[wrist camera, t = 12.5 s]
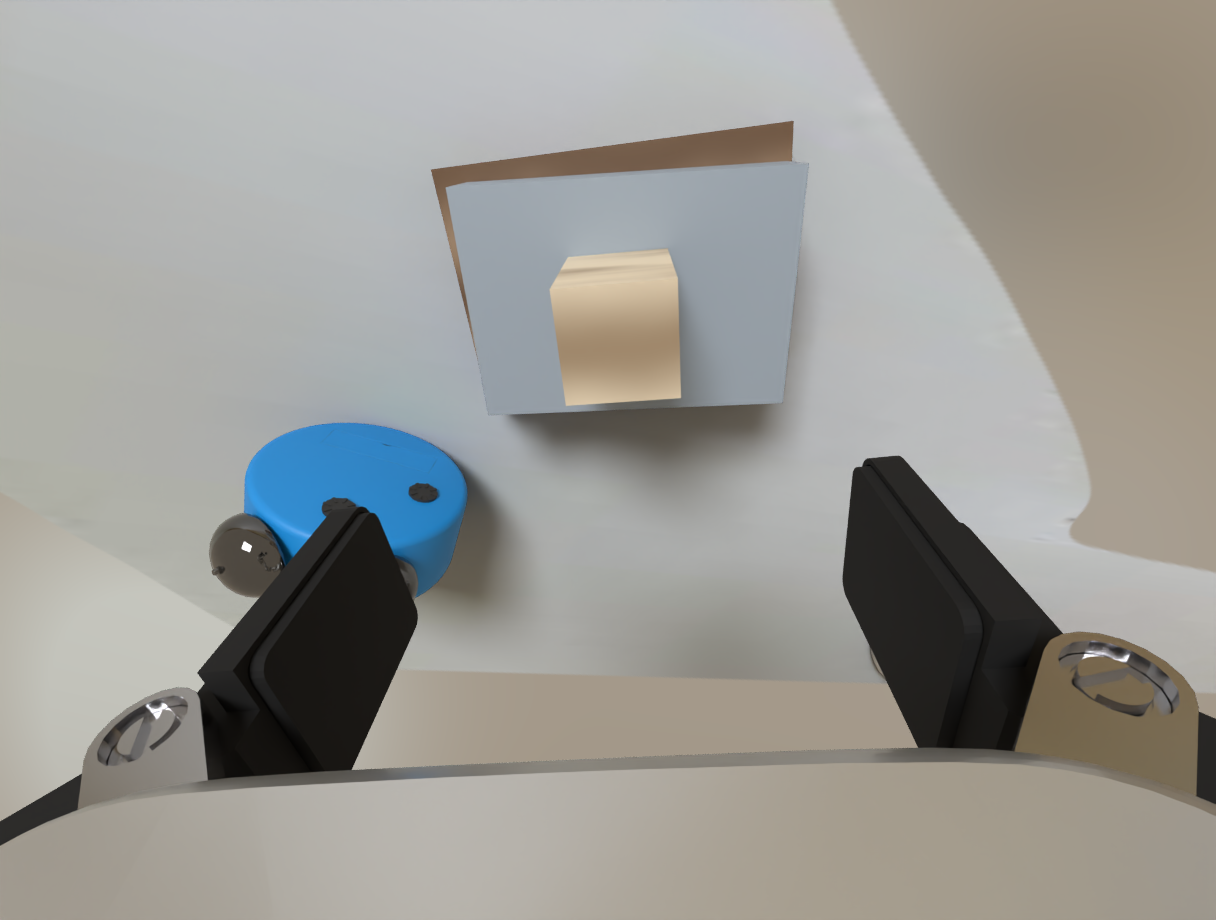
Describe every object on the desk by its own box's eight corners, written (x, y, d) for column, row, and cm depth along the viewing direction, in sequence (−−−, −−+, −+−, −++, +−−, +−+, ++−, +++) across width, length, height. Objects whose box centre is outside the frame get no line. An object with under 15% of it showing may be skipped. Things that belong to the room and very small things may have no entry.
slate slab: (767, 377, 34) (782, 403, 31) (501, 388, 35) (488, 415, 32) (786, 160, 28) (808, 163, 25) (466, 182, 29) (445, 187, 26)
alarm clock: (309, 465, 43) (171, 604, 30) (315, 397, 40) (164, 519, 27) (471, 513, 45) (407, 664, 32) (489, 452, 42) (426, 591, 29)
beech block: (671, 345, 29) (681, 398, 23) (579, 352, 30) (565, 405, 24) (667, 248, 27) (677, 278, 21) (567, 257, 27) (549, 289, 21)
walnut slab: (767, 358, 38) (781, 379, 35) (501, 384, 40) (489, 407, 36) (775, 123, 31) (793, 121, 28) (451, 166, 33) (430, 169, 29)
